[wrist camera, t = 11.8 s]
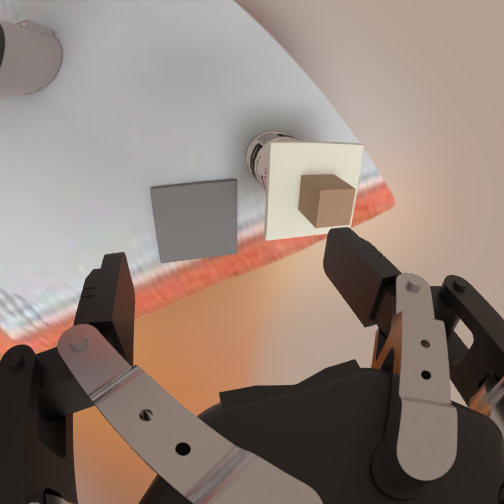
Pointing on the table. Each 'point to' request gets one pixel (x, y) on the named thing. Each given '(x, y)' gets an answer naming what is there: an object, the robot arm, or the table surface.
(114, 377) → the robot arm
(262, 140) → the supplement can
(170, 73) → the table surface
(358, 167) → the board
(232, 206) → the rubber mat
